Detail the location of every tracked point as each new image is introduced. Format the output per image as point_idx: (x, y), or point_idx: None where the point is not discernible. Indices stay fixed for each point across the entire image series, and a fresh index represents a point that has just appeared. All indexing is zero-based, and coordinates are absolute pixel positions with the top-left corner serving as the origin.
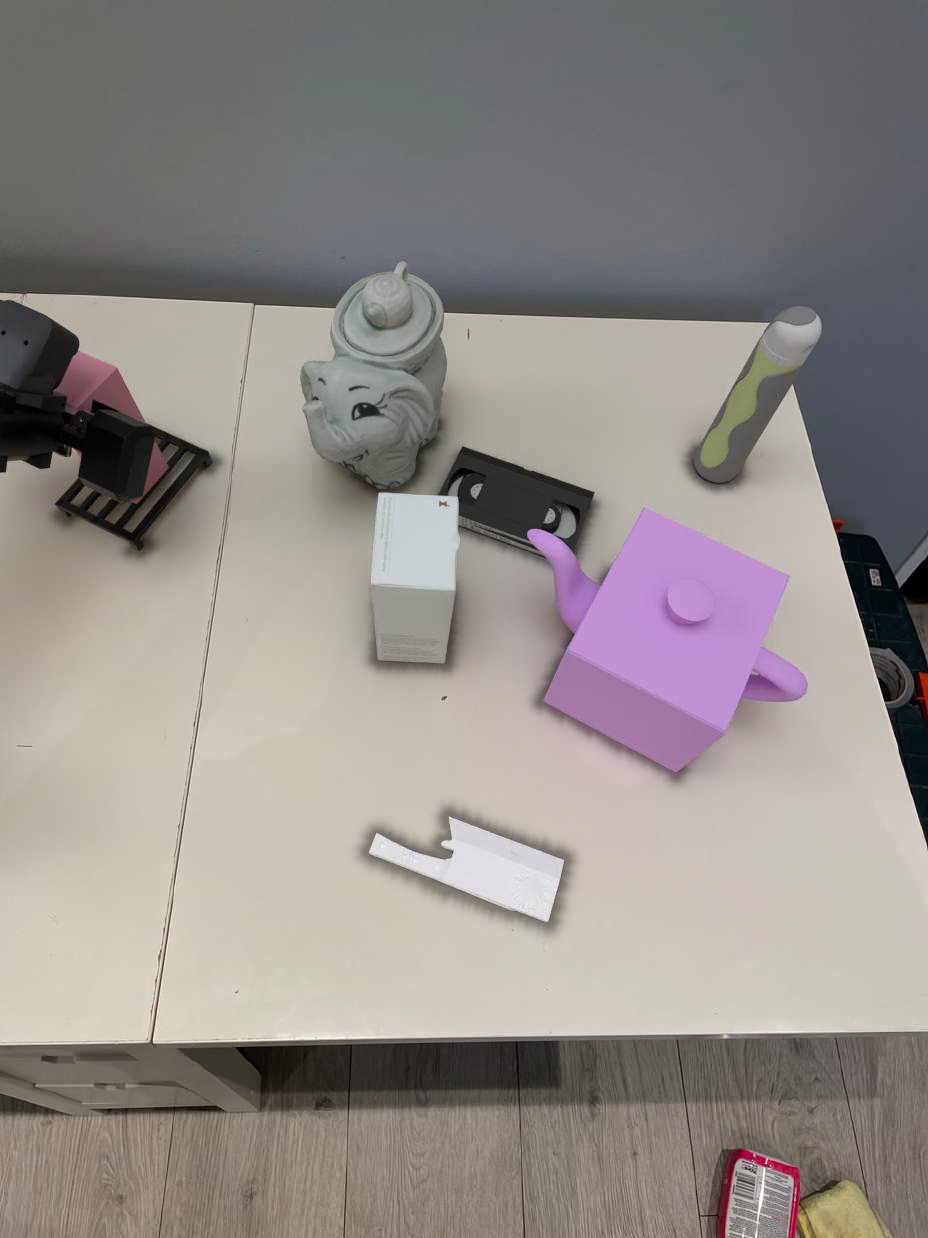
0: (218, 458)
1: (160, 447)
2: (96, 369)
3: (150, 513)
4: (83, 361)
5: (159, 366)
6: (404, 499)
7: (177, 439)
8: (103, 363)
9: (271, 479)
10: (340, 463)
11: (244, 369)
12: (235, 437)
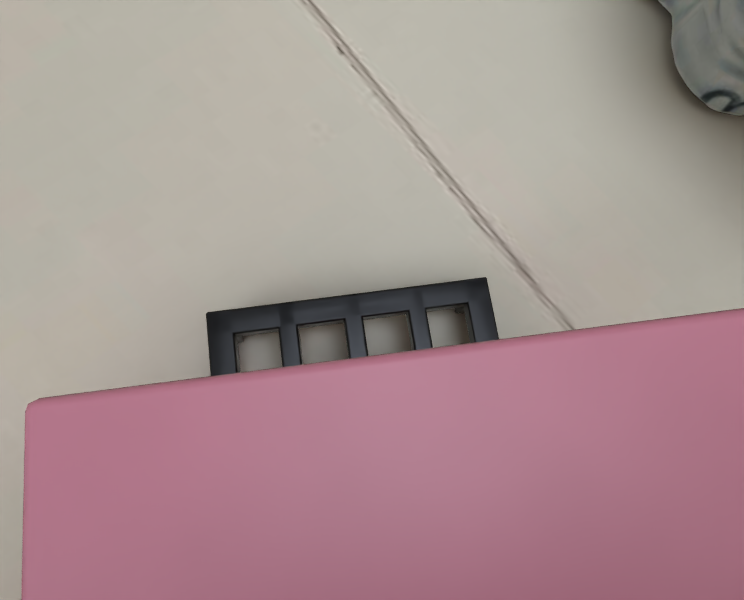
0: (474, 271)
1: (364, 351)
2: (695, 528)
3: None
4: (383, 536)
5: (112, 125)
6: None
7: (384, 298)
8: (669, 359)
9: (628, 244)
10: (737, 112)
11: (318, 17)
12: (459, 194)
